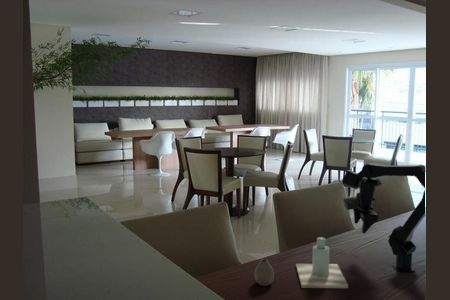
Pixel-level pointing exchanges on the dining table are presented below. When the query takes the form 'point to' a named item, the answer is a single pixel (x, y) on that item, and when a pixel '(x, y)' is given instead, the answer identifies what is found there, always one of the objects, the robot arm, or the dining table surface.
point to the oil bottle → (320, 258)
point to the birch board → (313, 281)
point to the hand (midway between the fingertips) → (359, 228)
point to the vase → (264, 273)
